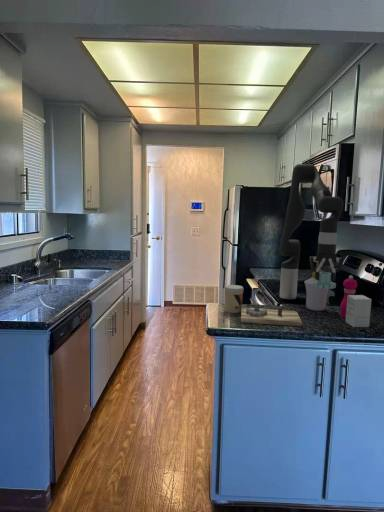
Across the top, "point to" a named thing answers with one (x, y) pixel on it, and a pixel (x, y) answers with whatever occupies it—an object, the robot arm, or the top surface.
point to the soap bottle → (315, 294)
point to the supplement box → (358, 310)
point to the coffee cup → (233, 298)
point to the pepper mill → (347, 293)
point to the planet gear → (324, 281)
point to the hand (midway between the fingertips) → (324, 280)
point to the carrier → (270, 316)
